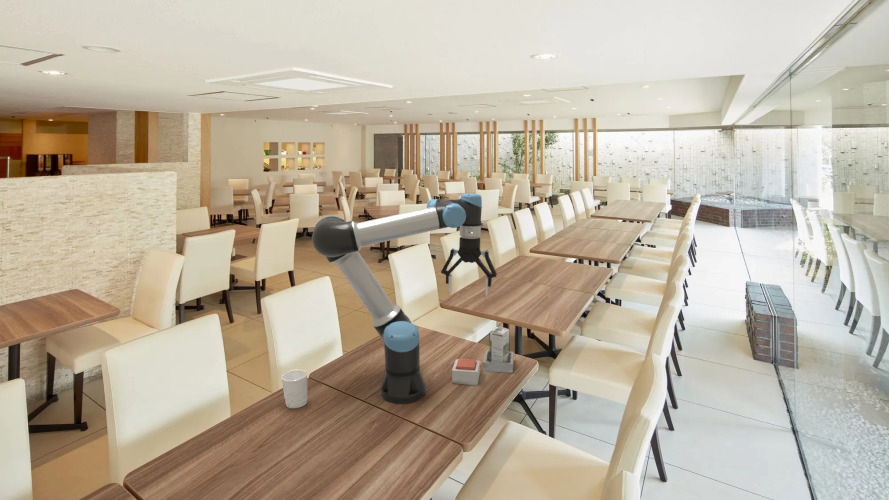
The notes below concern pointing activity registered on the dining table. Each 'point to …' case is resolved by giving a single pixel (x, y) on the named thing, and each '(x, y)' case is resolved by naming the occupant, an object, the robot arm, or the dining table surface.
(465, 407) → the dining table surface
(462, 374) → the switch box
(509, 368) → the frame
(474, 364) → the button
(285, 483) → the dining table surface
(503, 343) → the syrup box
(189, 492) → the dining table surface
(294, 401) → the white cup
